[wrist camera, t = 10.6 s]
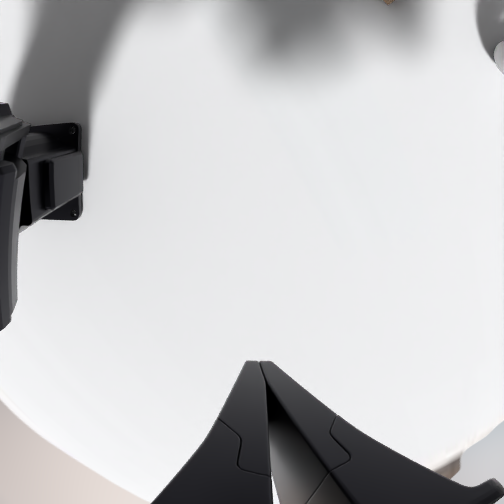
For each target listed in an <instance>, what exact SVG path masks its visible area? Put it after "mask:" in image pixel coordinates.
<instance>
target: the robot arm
mask: <svg viewBox="0 0 504 504" xmlns="http://www.w3.org/2000/svg"><path fill="white" fill-rule="evenodd" d="M30 126H31V124H30V123H26V122H23V120H21V119H18V118H15V117H14V115H12V113H11V110H10V107H9V104H8V103H3V102H0V331H1V330H3V329H4V328H5V327H6V326H7V325H8V324H9V323H10V322H11V314H12V313H13V310H14V308H15V305H16V302H17V253H18V235H19V233H21V232H22V231H24V230H25V229H27V228H28V227H29V226H31V225H32V224H34V223H35V222H37V221H39V220H40V219H48V220H72V221H74V220H77V219H78V218H79V217H80V216H81V214H82V207H81V193H82V192H83V154H82V153H81V126H80V124H78V123H62V124H52V125H42V126H33V127H30ZM73 127H74V128H75V133H74V134H73V133H72V131H71V130H72V128H73ZM73 210H75V211H76V215H74V214H73V212H72V211H73ZM271 472H272V476H273V480H274V483H275V487H276V491H277V495H278V498H279V502H280V504H494V503H495V502H496V501H498V500H499V499H500V498H502V497H503V496H504V488H503V486H502V485H501V484H500V483H499V482H498V481H497V480H496V479H495V478H492V479H489V480H487V481H486V482H484V483H482V484H480V485H478V486H475V487H467V486H464V485H461V484H459V483H457V482H455V481H452V480H450V479H448V478H446V477H444V476H442V475H440V474H438V473H436V472H434V471H432V470H430V469H428V468H426V467H424V466H422V465H420V464H418V463H416V462H414V461H412V460H410V459H409V458H407V457H405V456H403V455H401V454H399V453H397V452H396V451H394V450H392V449H390V448H388V447H387V446H385V445H383V444H381V443H380V442H378V441H376V440H374V439H373V438H371V437H369V436H368V435H366V434H364V433H363V432H361V431H360V430H358V429H357V428H355V427H354V426H352V425H351V424H350V423H348V422H347V421H345V420H344V419H343V418H342V417H340V416H339V415H337V414H336V413H334V412H333V411H332V410H331V409H329V408H328V407H327V406H325V405H324V404H323V403H322V402H320V401H319V400H318V399H317V398H315V397H314V396H313V395H312V394H310V393H309V392H308V391H307V390H305V389H304V388H303V387H302V386H301V385H299V384H298V383H297V382H296V381H294V380H293V379H292V378H291V377H290V376H288V375H287V374H286V373H285V372H284V371H282V370H281V369H280V368H279V367H278V366H277V365H275V364H274V363H273V362H271V361H260V362H258V361H246V362H245V364H244V366H243V368H242V370H241V372H240V374H239V376H238V378H237V380H236V382H235V384H234V386H233V388H232V390H231V392H230V394H229V396H228V398H227V400H226V402H225V404H224V406H223V408H222V410H221V412H220V413H219V415H218V417H217V419H216V421H215V423H214V424H213V426H212V428H211V430H210V431H209V433H208V435H207V437H206V438H205V440H204V441H203V442H202V444H201V445H200V446H199V448H198V449H197V450H196V452H195V453H194V454H193V455H192V456H191V458H190V459H189V460H188V461H187V462H186V464H185V465H184V466H183V467H182V468H181V470H180V471H179V472H178V473H177V474H176V475H175V477H174V478H173V479H172V480H171V481H170V482H169V484H168V485H167V486H166V487H165V488H164V489H163V490H162V492H161V493H160V494H159V495H158V496H157V497H156V498H155V499H154V501H153V502H152V503H151V504H273V493H272V479H271Z"/></svg>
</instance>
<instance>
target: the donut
mask: <svg viewBox="0 0 504 504" xmlns="http://www.w3.org/2000/svg"><path fill="white" fill-rule="evenodd" d="M494 59H495V63H496V65H497V67H498V69H499V70H500V71H501V72H502V73H503V74H504V41H502V42H500V43H499V44H498V45H497V46H496V48H495V50H494Z"/></svg>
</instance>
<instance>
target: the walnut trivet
mask: <svg viewBox="0 0 504 504" xmlns="http://www.w3.org/2000/svg"><path fill="white" fill-rule="evenodd" d="M383 1H384V2H385V3H386V4H387V5H389V4H390V3H392V2H393V1H394V0H383Z"/></svg>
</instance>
